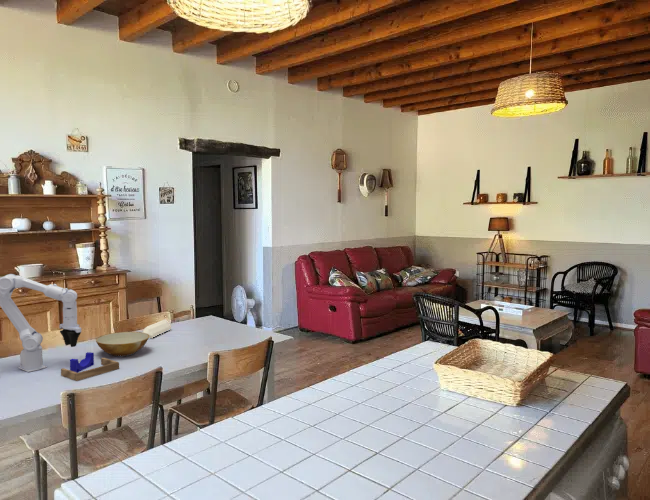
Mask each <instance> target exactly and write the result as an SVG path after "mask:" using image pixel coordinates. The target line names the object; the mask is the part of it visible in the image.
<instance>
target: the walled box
mask: <svg viewBox="0 0 650 500" xmlns="http://www.w3.org/2000/svg"><path fill="white" fill-rule="evenodd" d="M100 365H101V366H98V367H94V368H91V369H85V370H82V371H80V372H78V373H77V372H74V371H71V370H70V369H68V368H64V367H63V368H60V376H61V377H64V378H67V379H69V380H73V381H75V382H78V381H82V380H85V379H89V378H92V377H96V376H99V375H102V374H105V373H106V374H107V373H110V372H112V371H116V370H120V361H116V360H112V359H109V358H107V357H101V358H100Z"/></svg>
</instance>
